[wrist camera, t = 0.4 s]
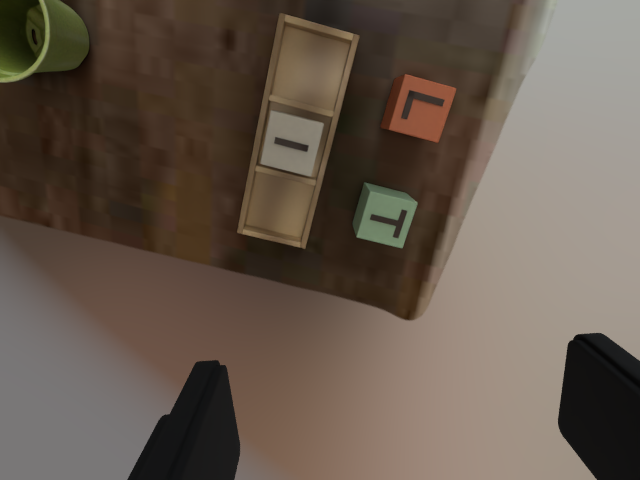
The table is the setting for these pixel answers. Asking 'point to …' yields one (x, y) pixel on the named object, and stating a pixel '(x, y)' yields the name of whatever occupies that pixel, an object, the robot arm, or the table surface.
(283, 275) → the table surface
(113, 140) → the table surface
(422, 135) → the terracotta block
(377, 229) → the sage block
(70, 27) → the plant pot
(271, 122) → the ivory block
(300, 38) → the wooden tray
